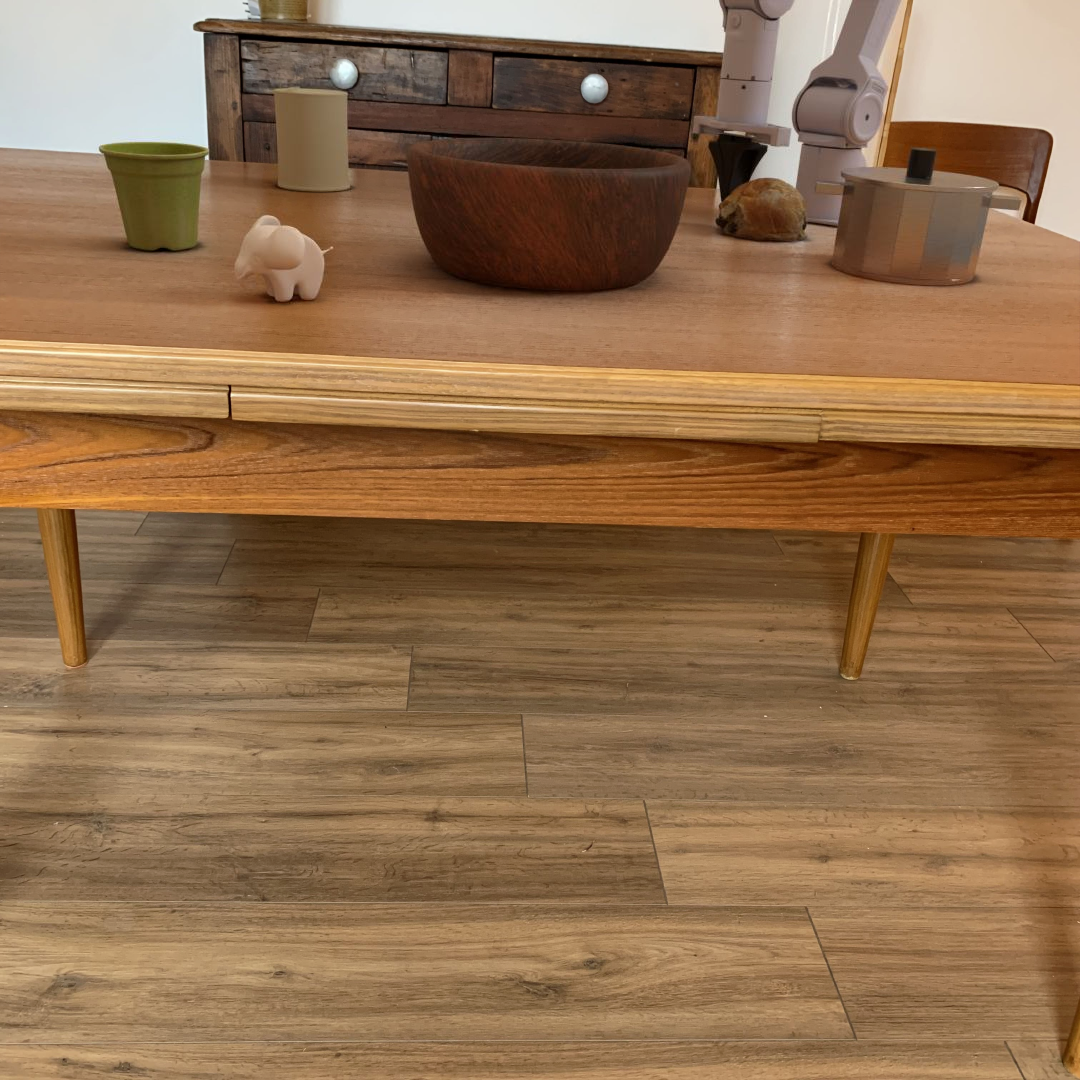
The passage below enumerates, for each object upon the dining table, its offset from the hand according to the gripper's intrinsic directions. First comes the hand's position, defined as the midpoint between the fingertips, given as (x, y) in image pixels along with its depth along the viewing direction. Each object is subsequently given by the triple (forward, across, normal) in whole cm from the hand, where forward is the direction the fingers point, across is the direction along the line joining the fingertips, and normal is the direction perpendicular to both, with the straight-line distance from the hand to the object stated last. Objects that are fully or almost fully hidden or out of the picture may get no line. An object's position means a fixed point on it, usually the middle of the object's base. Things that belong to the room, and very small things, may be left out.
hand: (730, 205), depth 128 cm
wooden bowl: (+3, +15, -35) cm, 38 cm away
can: (+3, -40, -36) cm, 54 cm away
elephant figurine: (+3, +18, -61) cm, 64 cm away
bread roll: (+3, +6, 0) cm, 6 cm away
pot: (+2, +26, 0) cm, 26 cm away
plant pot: (+3, -5, -64) cm, 64 cm away
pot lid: (-6, +26, 0) cm, 27 cm away
